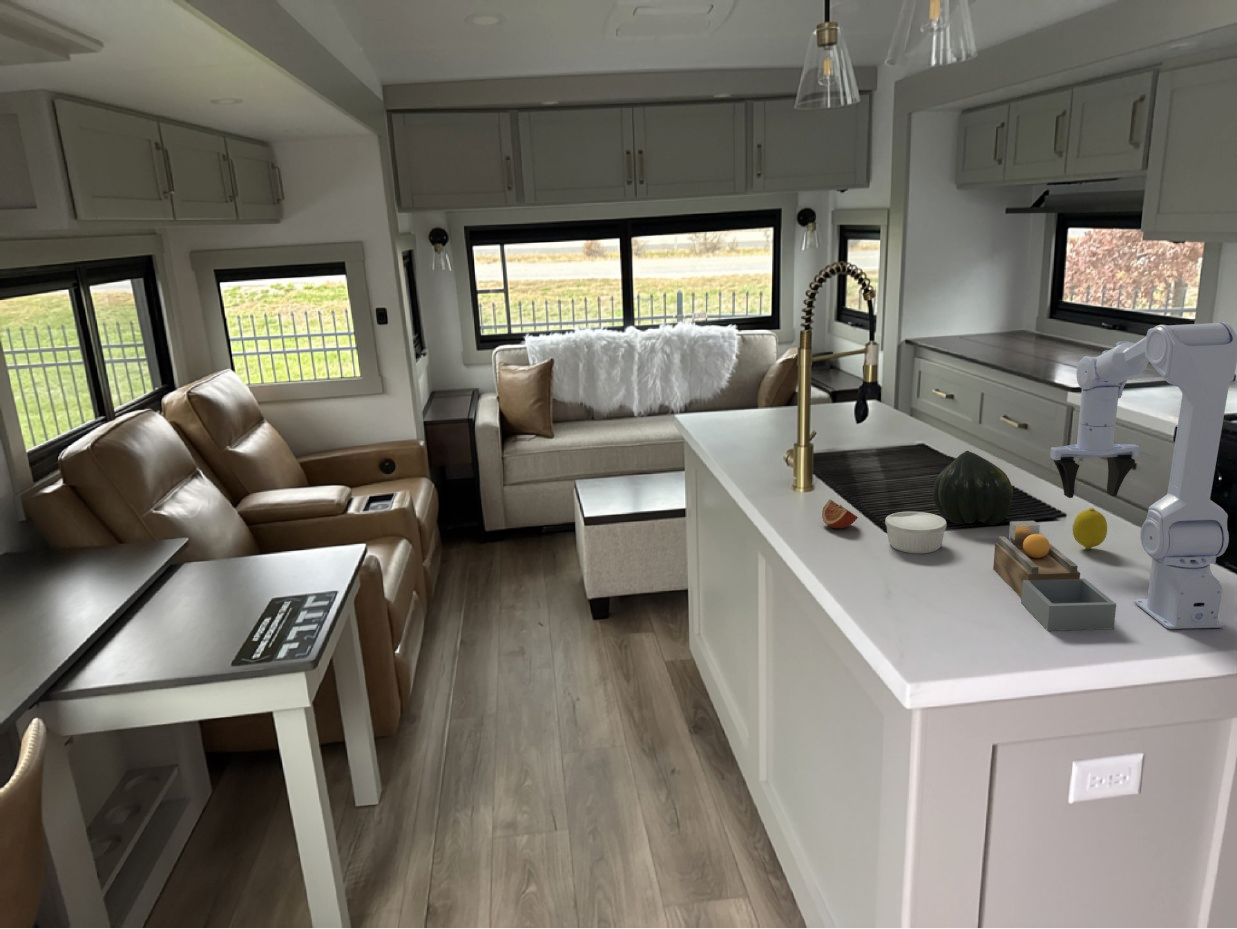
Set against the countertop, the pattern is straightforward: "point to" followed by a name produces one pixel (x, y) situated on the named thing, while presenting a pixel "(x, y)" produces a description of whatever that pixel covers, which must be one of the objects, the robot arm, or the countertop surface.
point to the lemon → (1090, 528)
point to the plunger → (1022, 531)
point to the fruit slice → (837, 515)
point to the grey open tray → (1068, 604)
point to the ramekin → (915, 531)
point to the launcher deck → (1030, 565)
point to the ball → (1036, 545)
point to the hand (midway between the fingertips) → (1090, 495)
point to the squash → (973, 491)
